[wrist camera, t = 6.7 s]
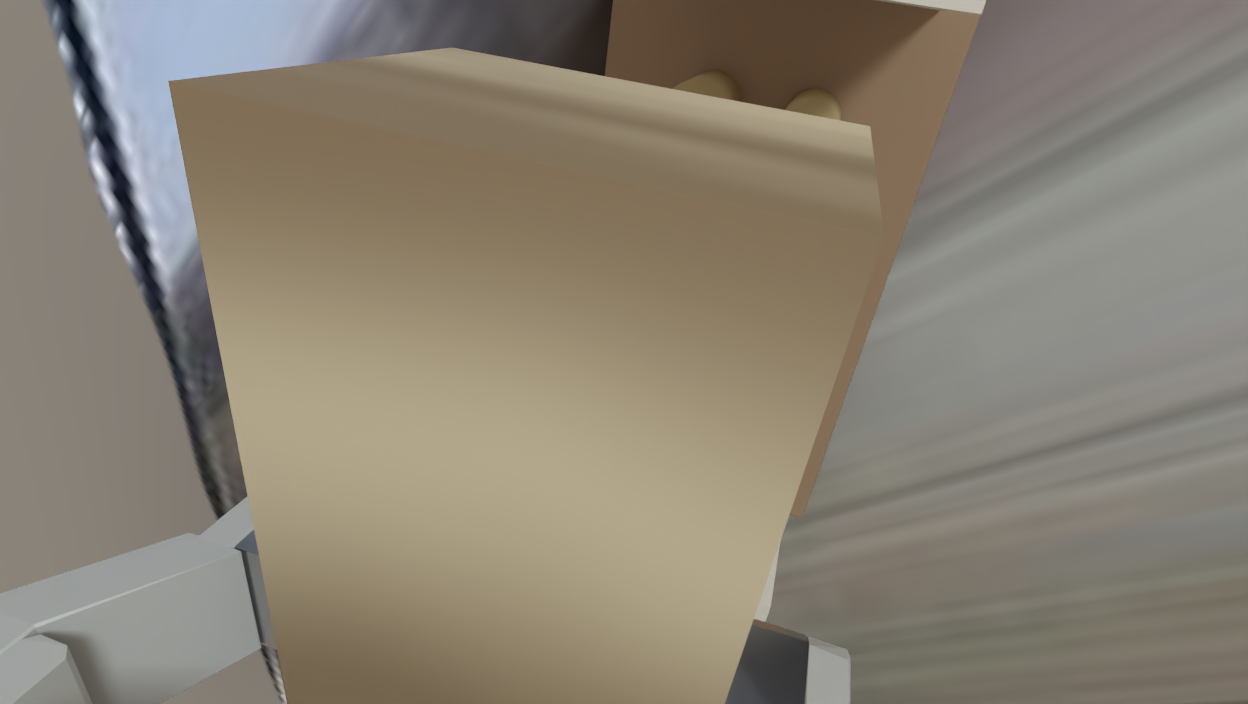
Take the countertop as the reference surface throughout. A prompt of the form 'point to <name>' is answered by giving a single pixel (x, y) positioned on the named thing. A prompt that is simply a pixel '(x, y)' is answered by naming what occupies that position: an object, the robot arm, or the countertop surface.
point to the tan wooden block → (520, 365)
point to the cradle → (815, 100)
